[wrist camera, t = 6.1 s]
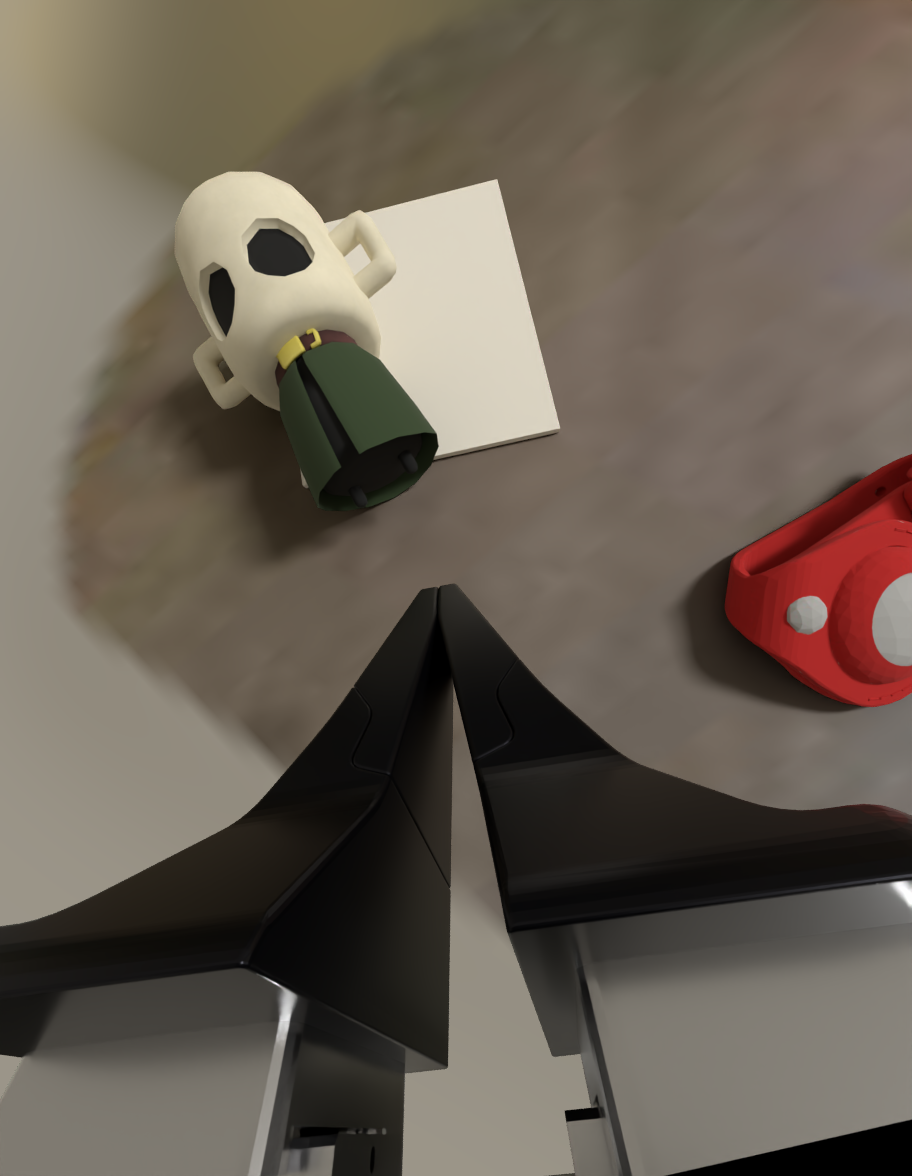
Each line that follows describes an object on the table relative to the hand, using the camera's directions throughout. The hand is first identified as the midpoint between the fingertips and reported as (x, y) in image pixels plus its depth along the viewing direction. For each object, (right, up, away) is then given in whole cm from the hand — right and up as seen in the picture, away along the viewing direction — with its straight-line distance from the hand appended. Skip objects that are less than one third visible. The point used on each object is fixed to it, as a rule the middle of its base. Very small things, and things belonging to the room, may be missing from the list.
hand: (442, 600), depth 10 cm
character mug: (-3, +5, +9) cm, 10 cm away
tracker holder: (+19, +1, +10) cm, 22 cm away
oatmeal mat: (-3, +15, +13) cm, 20 cm away
